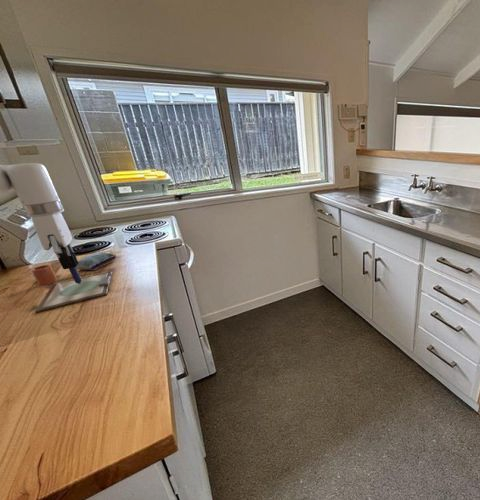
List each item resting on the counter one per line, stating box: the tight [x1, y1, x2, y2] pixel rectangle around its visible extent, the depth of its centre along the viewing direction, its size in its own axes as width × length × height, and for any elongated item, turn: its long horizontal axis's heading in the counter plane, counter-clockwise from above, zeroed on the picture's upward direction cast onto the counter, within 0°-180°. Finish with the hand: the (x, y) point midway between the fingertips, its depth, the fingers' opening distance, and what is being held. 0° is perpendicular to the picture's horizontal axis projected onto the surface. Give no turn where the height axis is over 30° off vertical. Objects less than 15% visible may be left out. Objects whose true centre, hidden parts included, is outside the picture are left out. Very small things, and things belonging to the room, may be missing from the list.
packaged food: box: [76, 252, 118, 271], centre depth 108 cm, size 9×12×5 cm
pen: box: [64, 249, 82, 284], centre depth 88 cm, size 2×2×12 cm
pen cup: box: [30, 264, 58, 286], centre depth 96 cm, size 5×5×6 cm
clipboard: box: [34, 271, 113, 314], centre depth 91 cm, size 16×20×1 cm
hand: (71, 266), depth 87 cm, fingers closed on pen, 1 cm apart
